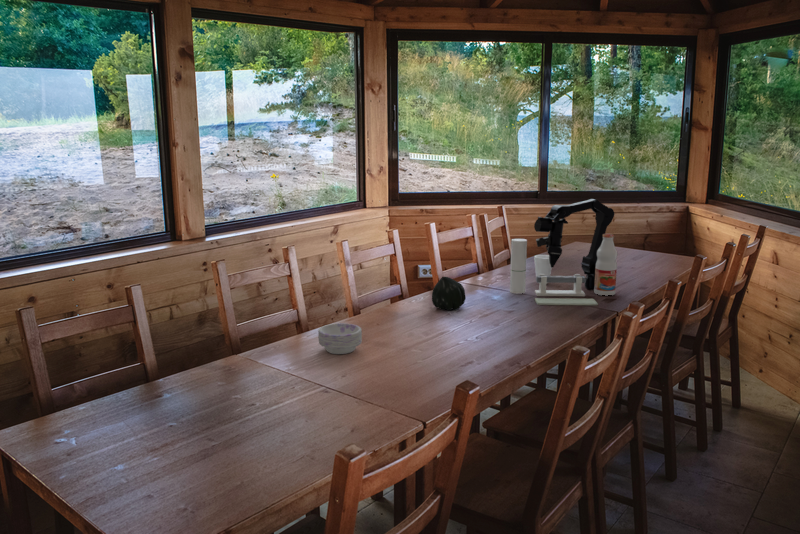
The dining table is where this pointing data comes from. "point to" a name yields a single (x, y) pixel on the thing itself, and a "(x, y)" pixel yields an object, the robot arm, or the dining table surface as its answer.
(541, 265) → the foam cup
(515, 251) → the cylindrical container
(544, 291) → the stand
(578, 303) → the pale sage plank
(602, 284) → the fruit juice
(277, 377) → the dining table surface
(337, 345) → the paper bowls
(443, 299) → the squash
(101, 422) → the dining table surface
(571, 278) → the metal rail
